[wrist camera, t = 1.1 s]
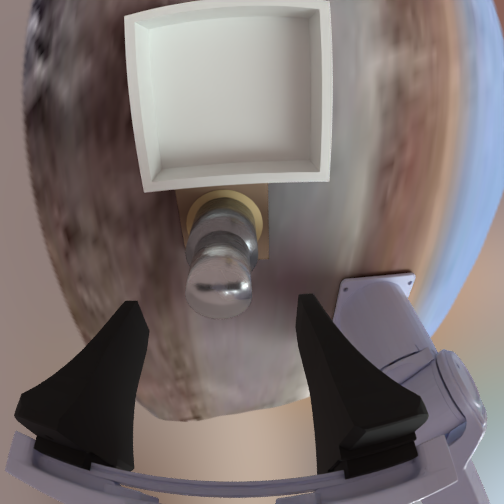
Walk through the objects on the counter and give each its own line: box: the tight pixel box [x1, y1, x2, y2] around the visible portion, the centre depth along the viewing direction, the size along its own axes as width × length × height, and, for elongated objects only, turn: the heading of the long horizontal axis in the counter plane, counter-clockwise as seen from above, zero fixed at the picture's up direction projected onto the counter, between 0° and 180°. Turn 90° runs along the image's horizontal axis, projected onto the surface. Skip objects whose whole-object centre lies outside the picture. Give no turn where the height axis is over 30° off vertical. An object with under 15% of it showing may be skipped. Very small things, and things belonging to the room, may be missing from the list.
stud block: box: [175, 183, 269, 260], centre depth 20 cm, size 6×6×2 cm
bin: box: [124, 0, 333, 193], centre depth 14 cm, size 11×11×3 cm
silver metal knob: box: [185, 197, 258, 319], centre depth 16 cm, size 4×4×7 cm
